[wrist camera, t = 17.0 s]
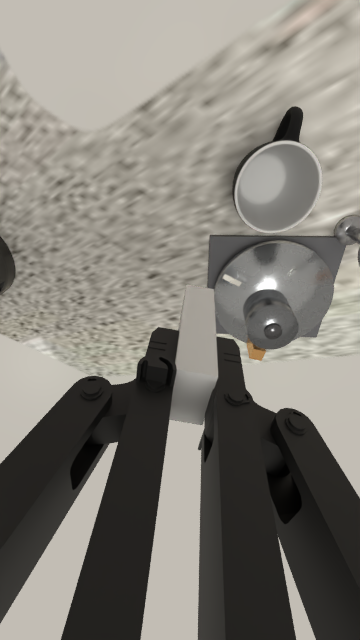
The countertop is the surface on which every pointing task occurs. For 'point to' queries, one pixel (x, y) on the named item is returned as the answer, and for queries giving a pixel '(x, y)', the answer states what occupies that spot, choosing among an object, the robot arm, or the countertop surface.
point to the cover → (269, 319)
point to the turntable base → (232, 245)
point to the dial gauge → (348, 231)
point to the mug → (278, 180)
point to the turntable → (273, 286)
